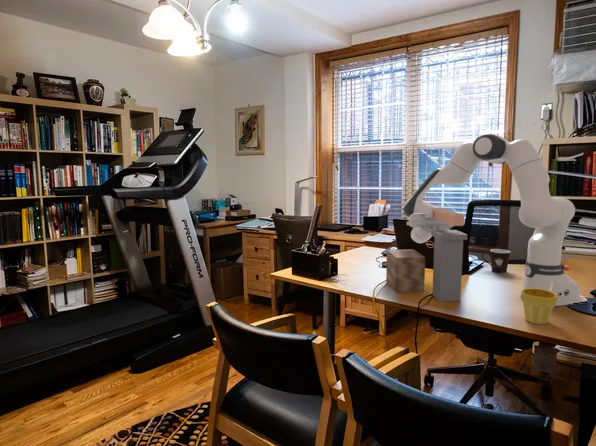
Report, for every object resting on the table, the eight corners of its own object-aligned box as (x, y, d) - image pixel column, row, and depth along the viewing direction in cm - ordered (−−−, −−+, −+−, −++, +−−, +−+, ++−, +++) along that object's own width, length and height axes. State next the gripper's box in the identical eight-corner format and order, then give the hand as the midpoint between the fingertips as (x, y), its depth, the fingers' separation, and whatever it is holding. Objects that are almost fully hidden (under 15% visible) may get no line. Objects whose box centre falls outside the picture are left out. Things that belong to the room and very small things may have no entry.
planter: (441, 217, 173) (441, 207, 172) (463, 225, 151) (464, 214, 150) (431, 217, 173) (431, 207, 172) (452, 225, 151) (453, 214, 150)
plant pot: (560, 327, 134) (562, 298, 132) (525, 325, 136) (527, 296, 134) (547, 316, 144) (550, 288, 142) (515, 314, 146) (517, 287, 144)
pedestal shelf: (453, 293, 169) (456, 230, 165) (464, 301, 159) (467, 234, 155) (429, 293, 168) (431, 230, 165) (438, 302, 159) (440, 235, 155)
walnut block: (412, 281, 186) (413, 249, 184) (424, 291, 171) (425, 257, 169) (386, 281, 186) (386, 249, 184) (395, 292, 171) (396, 257, 169)
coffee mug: (512, 271, 199) (514, 251, 198) (502, 274, 194) (504, 253, 193) (489, 266, 209) (490, 247, 207) (479, 269, 204) (480, 249, 202)
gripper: (404, 218, 183) (413, 205, 170) (450, 217, 183) (462, 204, 170) (405, 231, 180) (415, 220, 167) (452, 231, 181) (465, 219, 168)
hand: (439, 212), depth 169 cm, fingers closed on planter, 4 cm apart
